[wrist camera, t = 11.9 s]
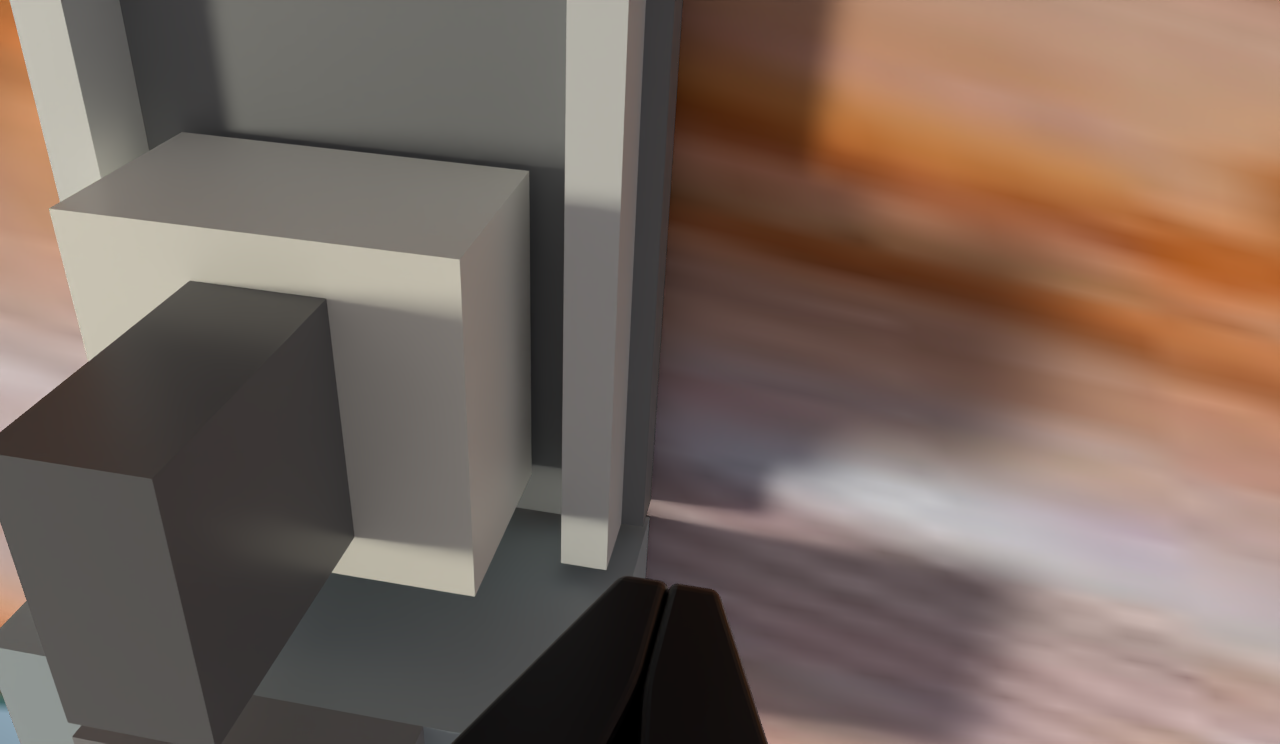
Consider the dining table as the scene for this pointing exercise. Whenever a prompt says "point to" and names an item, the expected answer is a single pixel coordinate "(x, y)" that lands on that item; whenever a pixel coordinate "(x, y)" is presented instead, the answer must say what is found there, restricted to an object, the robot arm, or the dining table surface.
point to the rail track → (434, 130)
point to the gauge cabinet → (375, 651)
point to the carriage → (264, 413)
